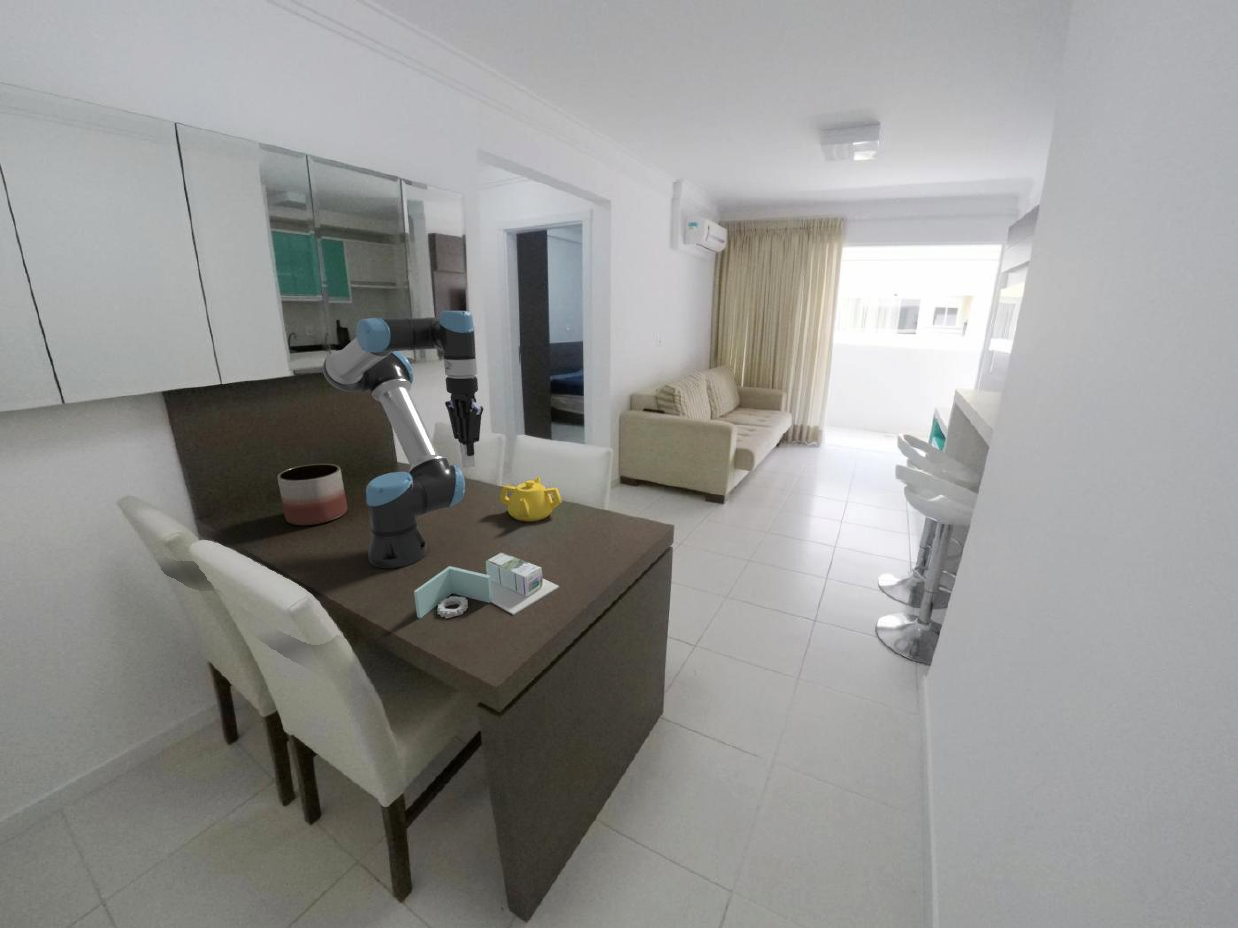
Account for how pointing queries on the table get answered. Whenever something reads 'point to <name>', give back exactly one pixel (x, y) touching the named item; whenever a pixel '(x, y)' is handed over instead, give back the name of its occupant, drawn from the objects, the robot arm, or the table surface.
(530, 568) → the syrup box
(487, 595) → the l-shaped corner panel
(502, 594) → the mat
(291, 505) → the planter
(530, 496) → the teapot
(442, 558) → the table surface
